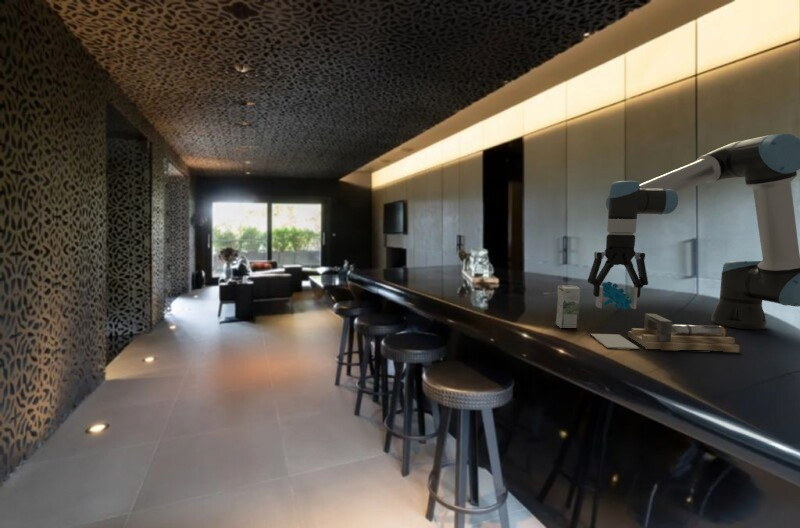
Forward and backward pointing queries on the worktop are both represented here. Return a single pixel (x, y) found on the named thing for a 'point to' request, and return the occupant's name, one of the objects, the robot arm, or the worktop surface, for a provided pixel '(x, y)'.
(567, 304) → the syrup box
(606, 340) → the pad
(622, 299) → the blue knobby toy
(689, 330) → the shaft
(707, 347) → the stepped wooden platform
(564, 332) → the worktop surface
